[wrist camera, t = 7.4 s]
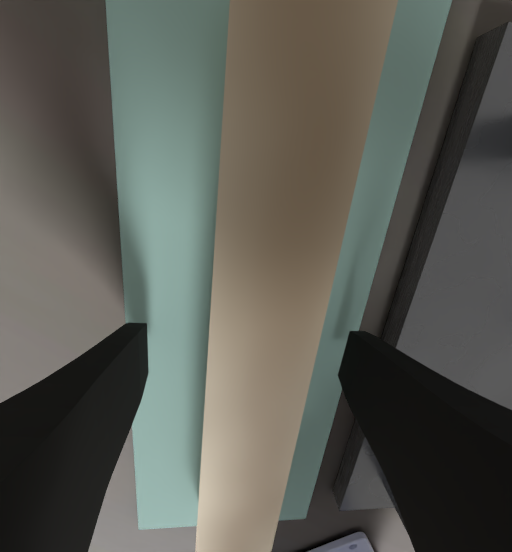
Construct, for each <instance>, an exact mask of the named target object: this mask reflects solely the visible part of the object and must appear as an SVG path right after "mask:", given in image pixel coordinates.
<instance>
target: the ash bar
mask: <svg viewBox="0 0 512 552" xmlns="http://www.w3.org/2000/svg"><path fill="white" fill-rule="evenodd" d="M397 3H398V0H230V5H229V21H228V37H227V53H226V69H225V85H224V101H223V117H222V133H221V149H220V165H219V181H218V197H217V213H216V229H215V245H214V261H213V277H212V293H211V309H210V325H209V341H208V357H207V373H206V390H205V406H204V422H203V438H202V454H201V470H200V486H199V502H198V518H197V534H196V550H195V552H271V551H272V546H273V542H274V538H275V533H276V529H277V525H278V520H279V516H280V511H281V507H282V503H283V498H284V494H285V490H286V485H287V481H288V477H289V472H290V468H291V464H292V459H293V455H294V451H295V446H296V442H297V438H298V433H299V429H300V425H301V420H302V416H303V412H304V407H305V403H306V398H307V394H308V390H309V385H310V381H311V377H312V372H313V368H314V364H315V359H316V355H317V351H318V346H319V342H320V338H321V333H322V329H323V325H324V320H325V316H326V312H327V307H328V303H329V299H330V294H331V290H332V285H333V281H334V277H335V272H336V268H337V264H338V259H339V255H340V251H341V246H342V242H343V238H344V233H345V229H346V225H347V220H348V216H349V212H350V207H351V203H352V199H353V194H354V190H355V186H356V181H357V177H358V173H359V168H360V164H361V159H362V155H363V151H364V146H365V142H366V138H367V133H368V129H369V125H370V120H371V116H372V112H373V107H374V103H375V99H376V94H377V90H378V86H379V81H380V77H381V73H382V68H383V64H384V60H385V55H386V51H387V46H388V42H389V38H390V33H391V29H392V25H393V20H394V16H395V12H396V7H397Z"/></svg>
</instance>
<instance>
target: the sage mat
mask: <svg viewBox="0 0 512 552" xmlns="http://www.w3.org/2000/svg"><path fill="white" fill-rule="evenodd" d="M451 2H452V0H398V3H397V7H396V12H395V16H394V20H393V25H392V29H391V33H390V38H389V42H388V46H387V51H386V55H385V60H384V64H383V68H382V73H381V77H380V81H379V86H378V90H377V94H376V99H375V103H374V107H373V112H372V116H371V120H370V125H369V129H368V133H367V138H366V142H365V146H364V151H363V155H362V159H361V164H360V168H359V173H358V177H357V181H356V186H355V190H354V194H353V199H352V203H351V207H350V212H349V216H348V220H347V225H346V229H345V233H344V238H343V242H342V246H341V251H340V255H339V259H338V264H337V268H336V272H335V277H334V281H333V285H332V290H331V294H330V299H329V303H328V307H327V312H326V316H325V320H324V325H323V329H322V333H321V338H320V342H319V346H318V351H317V355H316V359H315V364H314V368H313V372H312V377H311V381H310V385H309V390H308V394H307V398H306V403H305V407H304V412H303V416H302V420H301V425H300V429H299V433H298V438H297V442H296V446H295V451H294V455H293V459H292V464H291V468H290V472H289V477H288V481H287V485H286V490H285V494H284V498H283V503H282V507H281V511H280V516H279V520H278V521H280V520H295V519H306V515H307V512H308V508H309V505H310V501H311V498H312V494H313V491H314V487H315V483H316V480H317V476H318V473H319V469H320V466H321V462H322V459H323V455H324V452H325V448H326V445H327V441H328V437H329V434H330V430H331V427H332V423H333V420H334V416H335V413H336V409H337V406H338V402H339V399H340V395H341V391H342V386H341V383H340V380H339V378H338V372H339V369H340V365H341V361H342V357H343V354H344V350H345V346H346V343H347V339H348V335H349V331H359V328H360V324H361V321H362V317H363V314H364V310H365V307H366V303H367V299H368V296H369V292H370V289H371V285H372V282H373V278H374V275H375V271H376V268H377V264H378V261H379V257H380V253H381V250H382V246H383V243H384V239H385V236H386V232H387V229H388V225H389V222H390V218H391V215H392V211H393V207H394V204H395V200H396V197H397V193H398V190H399V186H400V183H401V179H402V176H403V172H404V169H405V165H406V161H407V158H408V154H409V151H410V147H411V144H412V140H413V137H414V133H415V130H416V126H417V123H418V119H419V115H420V112H421V108H422V105H423V101H424V98H425V94H426V91H427V87H428V84H429V80H430V77H431V73H432V69H433V66H434V62H435V59H436V55H437V52H438V48H439V45H440V41H441V38H442V34H443V31H444V27H445V23H446V20H447V16H448V13H449V9H450V6H451ZM229 5H230V0H106V16H107V32H108V48H109V64H110V80H111V96H112V112H113V128H114V144H115V160H116V176H117V192H118V208H119V224H120V240H121V255H122V271H123V287H124V303H125V319H126V323H128V322H130V323H147V337H148V369H149V373H148V377H147V381H146V385H145V389H144V393H143V396H142V400H141V403H140V405H139V408H138V411H137V413H136V416H135V418H134V421H133V423H132V431H133V447H134V463H135V479H136V495H137V511H138V527H139V530H142V529H157V528H173V527H188V526H197V518H198V502H199V486H200V470H201V454H202V438H203V422H204V406H205V390H206V373H207V357H208V341H209V325H210V309H211V293H212V277H213V261H214V245H215V229H216V213H217V197H218V181H219V165H220V149H221V133H222V117H223V101H224V85H225V69H226V53H227V37H228V21H229Z"/></svg>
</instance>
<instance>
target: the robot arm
mask: <svg viewBox="0 0 512 552" xmlns="http://www.w3.org/2000/svg"><path fill="white" fill-rule="evenodd" d="M148 373H149V369H148V337H147V323H130V322H128V323H126V324H125V325H123V326H122V327H120V328H119V329H118V330H116V331H115V332H113V333H112V334H111V335H109V336H108V337H106V338H105V339H104V340H102V341H101V342H99V343H98V344H97V345H95V346H94V347H92V348H91V349H89V350H88V351H87V352H85V353H84V354H82V355H81V356H79V357H78V358H76V359H75V360H73V361H72V362H70V363H68V364H67V365H65V366H64V367H62V368H61V369H59V370H57V371H56V372H54V373H53V374H51V375H50V376H48V377H46V378H45V379H43V380H41V381H40V382H38V383H36V384H35V385H33V386H31V387H29V388H28V389H26V390H24V391H22V392H20V393H18V394H17V395H15V396H13V397H11V398H9V399H7V400H5V401H4V402H2V403H0V552H88V550H89V546H90V543H91V539H92V536H93V532H94V529H95V526H96V522H97V519H98V516H99V513H100V509H101V506H102V503H103V499H104V496H105V493H106V490H107V487H108V484H109V481H110V479H111V476H112V473H113V471H114V468H115V466H116V463H117V461H118V458H119V456H120V453H121V451H122V448H123V446H124V443H125V441H126V438H127V436H128V433H129V431H130V428H131V426H132V423H133V421H134V418H135V416H136V413H137V411H138V408H139V405H140V403H141V400H142V396H143V393H144V389H145V385H146V381H147V377H148ZM338 378H339V380H340V383H341V386H342V389H343V392H344V395H345V397H346V400H347V402H348V404H349V406H350V408H351V410H352V412H353V414H354V416H355V418H356V420H357V422H358V424H359V426H360V428H361V430H362V432H363V434H364V435H365V437H366V439H367V441H368V443H369V445H370V447H371V449H372V451H373V453H374V455H375V457H376V459H377V460H378V462H379V464H380V467H381V469H382V471H383V473H384V475H385V477H386V479H387V482H388V484H389V486H390V489H391V491H392V494H393V496H394V499H395V501H396V503H397V506H398V508H399V511H400V513H401V516H402V518H403V521H404V524H405V526H406V529H407V531H408V534H409V537H410V539H411V542H412V545H413V547H414V550H415V552H512V410H511V409H508V408H506V407H504V406H502V405H499V404H497V403H495V402H493V401H491V400H489V399H487V398H485V397H483V396H481V395H479V394H477V393H474V392H472V391H470V390H468V389H467V388H465V387H463V386H461V385H459V384H457V383H455V382H453V381H451V380H450V379H448V378H446V377H444V376H442V375H441V374H439V373H437V372H435V371H433V370H432V369H430V368H428V367H426V366H425V365H423V364H421V363H420V362H418V361H416V360H415V359H413V358H411V357H409V356H408V355H406V354H405V353H403V352H401V351H400V350H398V349H396V348H395V347H393V346H391V345H390V344H388V343H386V342H384V341H383V340H381V339H379V338H377V337H376V336H374V335H372V334H370V333H368V332H365V331H349V335H348V339H347V343H346V346H345V350H344V354H343V357H342V361H341V365H340V369H339V372H338ZM307 552H374V550H373V548H372V546H371V544H370V542H369V540H368V538H367V536H366V534H365V533H364V532H356V533H353V534H351V535H348V536H345V537H343V538H340V539H338V540H335V541H333V542H330V543H327V544H325V545H322V546H320V547H317V548H315V549H312V550H309V551H307Z"/></svg>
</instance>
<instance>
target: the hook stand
mask: <svg viewBox="0 0 512 552" xmlns="http://www.w3.org/2000/svg"><path fill="white" fill-rule="evenodd" d="M381 340H383V341H384V342H386V343H388V344H390V345H391V346H393V347H395V348H396V349H398V350H400V351H401V352H403V353H405V354H406V355H408V356H409V357H411V358H413V359H415V360H416V361H418V362H420V363H421V364H423V365H425V366H426V367H428V368H430V369H432V370H433V371H435V372H437V373H439V374H441V375H442V376H444V377H446V378H448V379H450V380H451V381H453V382H455V383H457V384H459V385H461V386H463V387H465V388H467V389H468V390H470V391H472V392H474V393H477V394H479V395H481V396H483V397H485V398H487V399H489V400H491V401H493V402H495V403H497V404H499V405H502V406H504V407H506V408H508V409H511V410H512V22H507V23H505V24H503V25H501V26H499V27H497V28H495V29H493V30H491V31H489V32H487V33H485V34H483V35H481V36H479V37H477V41H476V44H475V47H474V50H473V53H472V56H471V59H470V62H469V66H468V69H467V72H466V75H465V78H464V81H463V84H462V87H461V91H460V94H459V97H458V100H457V103H456V106H455V109H454V112H453V116H452V119H451V122H450V125H449V128H448V131H447V134H446V138H445V141H444V144H443V147H442V150H441V153H440V156H439V159H438V163H437V166H436V169H435V172H434V175H433V178H432V181H431V184H430V188H429V191H428V194H427V197H426V200H425V203H424V206H423V209H422V213H421V216H420V219H419V222H418V225H417V228H416V231H415V234H414V238H413V241H412V244H411V247H410V250H409V253H408V256H407V259H406V263H405V266H404V269H403V272H402V275H401V278H400V281H399V284H398V288H397V291H396V294H395V297H394V300H393V303H392V306H391V309H390V313H389V316H388V319H387V322H386V325H385V328H384V331H383V335H382V338H381ZM333 494H334V497H335V500H336V503H337V505H338V508H339V511H346V510H362V509H378V508H394V507H395V509H396V511H397V513H398V515H399V517H400V519H401V521H402V523H403V525H404V527H405V529H406V526H405V524H404V521H403V518H402V516H401V513H400V511H399V508H398V506H397V503H396V501H395V499H394V496H393V494H392V491H391V489H390V486H389V484H388V482H387V479H386V477H385V475H384V473H383V471H382V469H381V467H380V464H379V462H378V460H377V459H376V457H375V455H374V453H373V451H372V449H371V447H370V445H369V443H368V441H367V439H366V437H365V435H364V434H363V432H362V430H361V428H360V426H359V424H358V422H357V420H356V419H355V422H354V425H353V428H352V431H351V435H350V438H349V441H348V444H347V447H346V450H345V453H344V456H343V460H342V463H341V466H340V469H339V472H338V475H337V478H336V481H335V485H334V488H333ZM406 531H407V529H406ZM407 533H408V531H407ZM408 535H409V534H408Z"/></svg>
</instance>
